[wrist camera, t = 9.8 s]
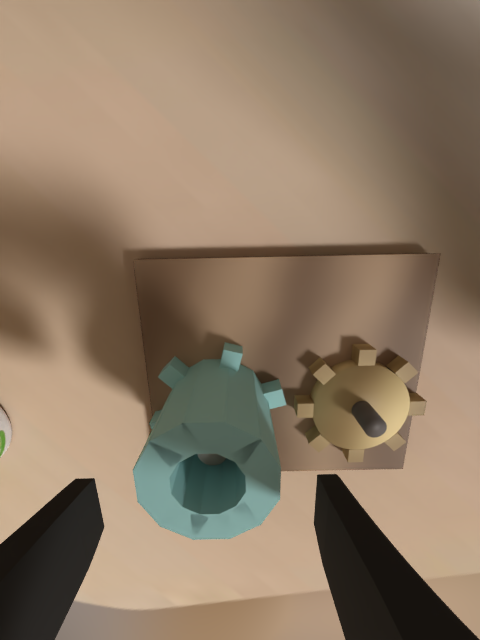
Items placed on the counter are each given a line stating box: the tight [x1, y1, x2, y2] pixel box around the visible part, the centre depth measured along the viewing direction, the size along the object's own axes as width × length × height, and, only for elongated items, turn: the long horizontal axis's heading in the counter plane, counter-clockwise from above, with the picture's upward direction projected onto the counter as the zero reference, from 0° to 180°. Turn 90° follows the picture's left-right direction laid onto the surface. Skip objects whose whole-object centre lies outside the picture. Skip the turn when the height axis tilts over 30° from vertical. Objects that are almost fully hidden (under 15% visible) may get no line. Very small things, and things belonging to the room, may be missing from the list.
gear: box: [133, 342, 286, 540], centre depth 11 cm, size 7×7×5 cm
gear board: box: [133, 253, 440, 471], centre depth 12 cm, size 14×12×4 cm
